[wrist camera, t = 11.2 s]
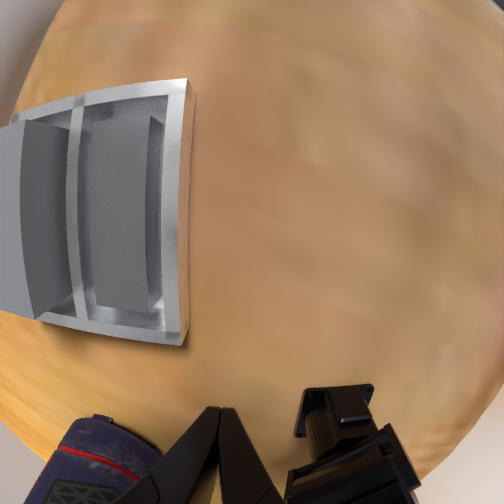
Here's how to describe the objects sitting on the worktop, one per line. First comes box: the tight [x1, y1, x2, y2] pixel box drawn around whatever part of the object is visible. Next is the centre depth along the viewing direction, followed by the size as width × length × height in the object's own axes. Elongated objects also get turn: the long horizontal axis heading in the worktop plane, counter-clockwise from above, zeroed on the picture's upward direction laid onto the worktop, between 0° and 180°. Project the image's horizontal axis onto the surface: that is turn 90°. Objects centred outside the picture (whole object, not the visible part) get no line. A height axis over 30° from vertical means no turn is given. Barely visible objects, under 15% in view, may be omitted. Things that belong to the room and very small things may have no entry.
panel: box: [0, 119, 73, 320], centre depth 15 cm, size 12×4×6 cm, turn 177°
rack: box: [12, 79, 196, 346], centre depth 16 cm, size 16×15×4 cm
